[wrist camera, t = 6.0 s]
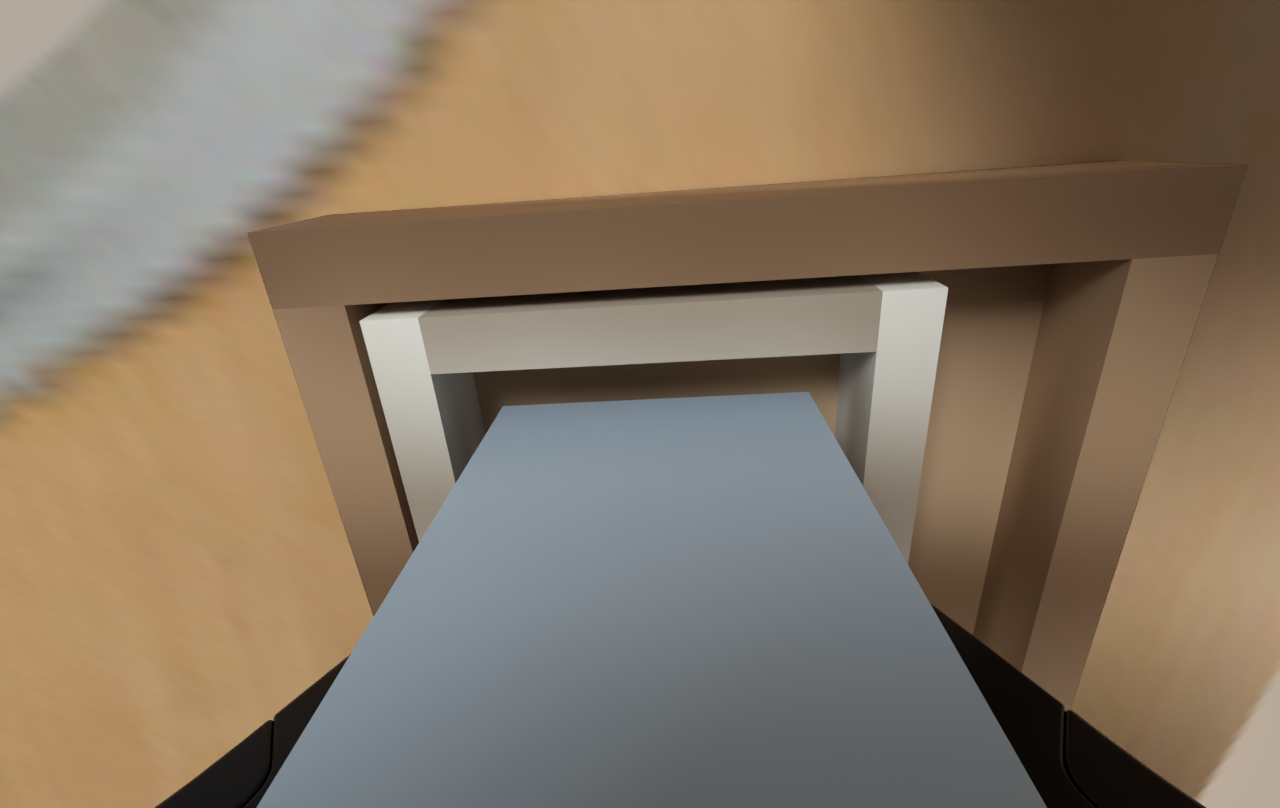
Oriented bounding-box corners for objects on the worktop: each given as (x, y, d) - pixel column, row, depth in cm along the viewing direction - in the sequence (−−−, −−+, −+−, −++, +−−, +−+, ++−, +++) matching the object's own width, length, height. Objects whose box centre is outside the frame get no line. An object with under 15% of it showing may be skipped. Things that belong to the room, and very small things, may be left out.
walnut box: (976, 756, 14) (1026, 856, 12) (477, 760, 15) (448, 854, 13) (1123, 160, 9) (1254, 166, 7) (329, 214, 9) (241, 233, 7)
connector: (796, 627, 10) (1113, 1804, 3) (543, 632, 11) (273, 1717, 3) (808, 391, 8) (1679, 1913, 1) (502, 406, 9) (-292, 1702, 1)
